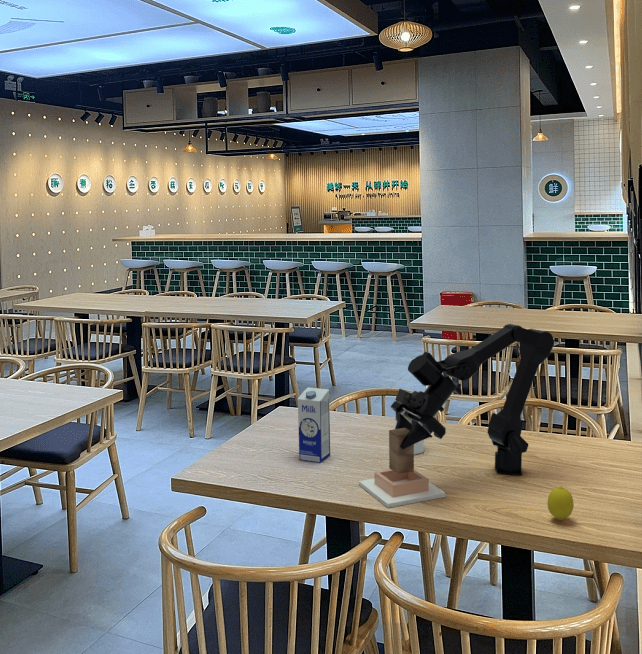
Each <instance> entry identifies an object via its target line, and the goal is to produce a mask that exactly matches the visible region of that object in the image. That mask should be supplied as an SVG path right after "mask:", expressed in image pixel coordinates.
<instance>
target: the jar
mask: <svg viewBox="0 0 642 654" xmlns="http://www.w3.org/2000/svg"><path fill="white" fill-rule="evenodd" d="M396 424H397V415H396V414H395V417H394V428H395V427H396ZM411 424H412V422H411ZM424 452H425V439H424V440H422V441H419V442H417V443H415V444H414V456H415V455H418V454H421V453H424Z"/></svg>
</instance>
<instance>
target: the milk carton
mask: <svg viewBox="0 0 642 654" xmlns="http://www.w3.org/2000/svg"><path fill="white" fill-rule="evenodd" d="M297 415H298V416H297V417H298V419H297V420H298V424H297V425H298V455H299V456H298V459H299V461H302V460H304V461H305V462H309V461H310V462H311V463H316V464H317V463H318V464H321V463H323V462H324V461H325V460H327V459H328V458H329V457H331V427H330V426H331V424H330V421H331V420H330V419H331V417H330V415H331V413H330V389H328V388H320V387H319V388H318V387H317V388H316V387H306V389H304V390H303V392H302V393H301V394H300V395H299V396H298V398H297Z"/></svg>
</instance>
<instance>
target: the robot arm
mask: <svg viewBox="0 0 642 654" xmlns="http://www.w3.org/2000/svg"><path fill="white" fill-rule="evenodd" d="M515 342H517V343H519V347H518V350H519V356H520V360H519V362H518V365H517V369H516V371H515V373H514V377H513V378H512V381H511V384H510V388H509V390H508V393H507V395H506V398H505V401H504V404H503V406H502V408H501V410H500V411H498V413H495V412H492V413H491V416H490V418H489V419H490V420H489V423H488V424H487V425H486V427H487V435H488V438H489V439H490V440H491V443H492V445H493V446H495V447H497V450H496V451H494V469H495V470H496V474H501V475H518V476H521V475H523V471H522V469H523V468H522V462H523V460H522V459H523V455H522V454H523V453H526V452H527V451H528V448H529V443H528V442H527V441H526V440H525V439H524V438H523V437H522V435H521V434H522V431H523V424H522V417H521V416H522V413H523V410H524V408H525V404H526V401H527V399H528V395H529V393H530V391H531V388H532V385H533V384H534V383H533V382H534V380H535V377H536V375H537V371H538V368H539V366H540V365H541V364H542V363H543V362H544V361H545V360H546V359H547V358H548V357H549V356H550V354H551V352H552V350H553V347H554V346H555V339H554V337H553V335H552V333H550V332H549V331H544V330H540V329H534V328H528V329H527V328H524V327H522V326H521V325H516V324H513V323H507V324H505V325H504V326H503V327H502V328H500V329H499V330H498V331H496V332H494V333H493V334H491V335H490V336H488V337H486V338H485V339H483V340H482V341H479V343H477V344H476V345H474V346H473V347H470V348H468V349H464V350H461V351H456V352H454V353H452V354H449V355H447V356H446V357H445V358H444V359H443V360H442V359H441V360H438V361H437V360H436V359H435V358H434V357H433V355H432V354H431V353H430V352H427V351H423V353H422V354H420V355H418V356H416V357H415V358H413V359H412V360H410V361H409V364H408V366H407V370H408V372H409V373H410V374H411V375H412V376H413V377H414V378H415V379H416V380H417V381H418V382H419V383H420V384H421V385H422V386H424V387H427V386H428V387H427V388H426V389H425V390H424V391H421V390H419V391H417V390H414V391H413V392H410V391H408V390H405V389H402V388H399V389H398V391H397V394H396V397H395V398H394V401H393V403H392V404H391V405H390V409H392V410H393V411H394V412H395V414H396V415H397V424H396V427H395V426H394V429H400V428H406V429H408V430H410V431H409V433H408V434H407V436H406V437H405V439H404V440H403V442H402V444H401V445H400V448H402V449H405V448H407V447H409V446H411V445H413V444H415V443H417V442H419V441H422V440H424V441H425V440H426V439H429V438H430V439H431V438H433V436H434V437H435V438H438V439H440V440H442V439H443V438H444V436H445V435H446V433H447V432H446V431H447V428H446V427H445V426H444V425H443V424H442V423H441V422H440V421H439V420H438V419H437V418H436V417H435V416H436V415H437V414H438V413H439V412H441V413H443V412H444V410H445V408H444V407H443V406H444V405H445V404H446V402H447V401H448V400H449V398H450V397H451V396H452V395H453V393H454V394H456V395H459V396H460V395H462V394H463V392H462V384H461V383H459V382H456V381H454V380H453V379H452V378H454V379H456V380H459V381H463V382H465V381H468V380H470V379H471V378H472V377H473V376H474V375H475V374H476V373H478V371H479V369H480V367H481V365H483V364H484V363H485V362H486V361H488V360H489V359H491V358H492V357H494V356H496V355H497V354H498V353H501V351H503V350H505V349H506V348H508V347H509V346H511V345H512V344H514V343H515ZM444 374H445V375H446V376H444ZM411 422H412V424H411ZM432 434H433V435H432Z"/></svg>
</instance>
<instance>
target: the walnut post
mask: <svg viewBox="0 0 642 654" xmlns="http://www.w3.org/2000/svg"><path fill="white" fill-rule="evenodd" d="M409 431H410V430H408V429H406V428H400V429H395V428H394V429H389V430H388V448H389V449H388V455H389V457H388V458H389V459H388V461H389V462H388V467H389V469H391V470H393V471H394V472H396V473H397V474H401V473H407V472H412V471H414V470H415V455H414V444H413V445H411V446H409V447H407V448H405V449H402V448H400V445H401V444H402V442H403V440H404V439H405V437H406V436H407V434H408V433H409Z"/></svg>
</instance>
